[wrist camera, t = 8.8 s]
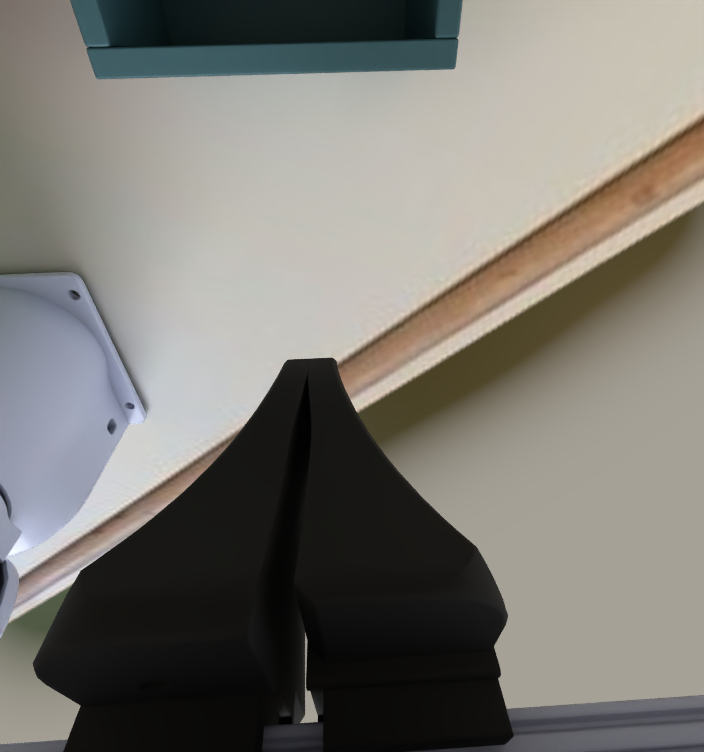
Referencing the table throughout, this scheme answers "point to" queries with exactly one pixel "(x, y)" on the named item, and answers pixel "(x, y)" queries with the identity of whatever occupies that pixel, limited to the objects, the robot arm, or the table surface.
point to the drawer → (266, 36)
